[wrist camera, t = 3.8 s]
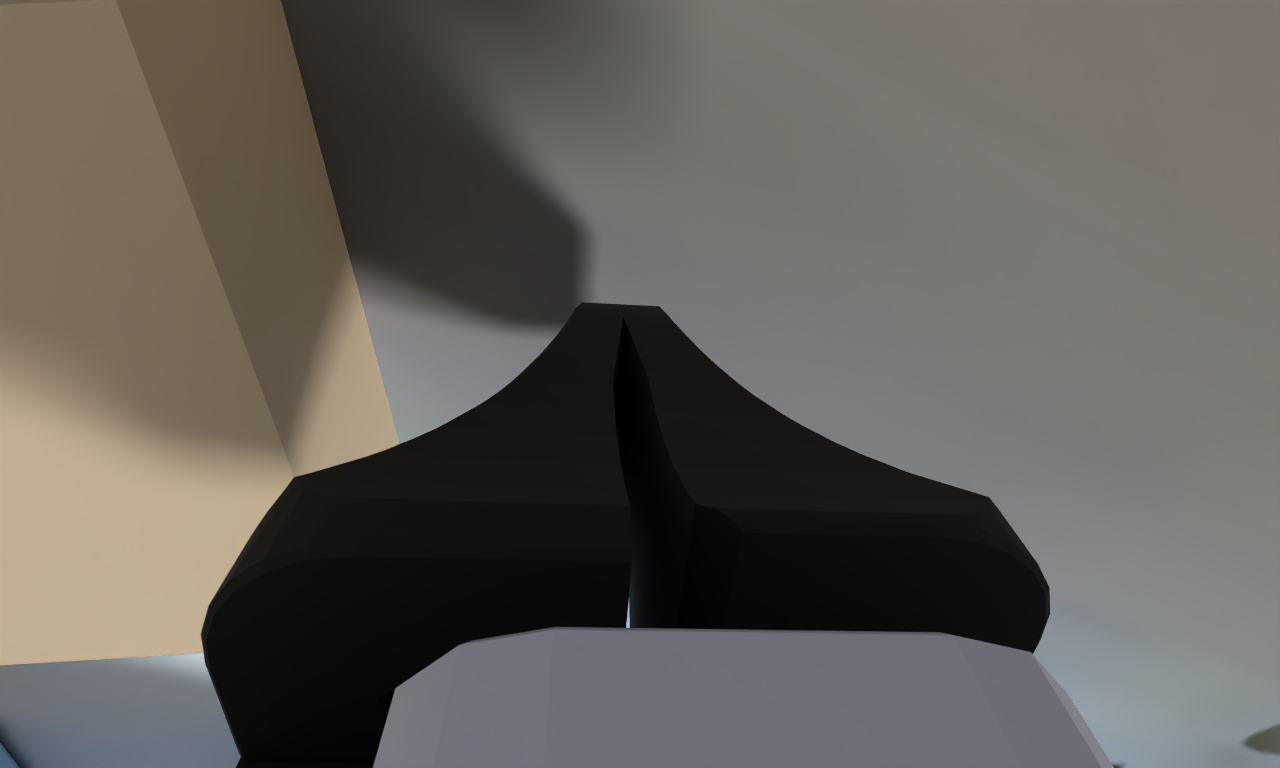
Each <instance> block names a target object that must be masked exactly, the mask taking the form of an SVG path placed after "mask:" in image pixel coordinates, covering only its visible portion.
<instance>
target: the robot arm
mask: <svg viewBox="0 0 1280 768" xmlns="http://www.w3.org/2000/svg"><path fill="white" fill-rule="evenodd" d="M628 600H629V605H630V628H626V621H627V610H628ZM1049 615H1050V594H1049V586H1048V584H1047V582H1046V580H1045V578H1044V576H1043V574H1042V572H1041V570H1040V568H1039V565H1038V564H1037V562H1036V561H1035V559H1034V558H1033V557H1032V555H1031V554H1030V552H1029V551H1028V550H1027V548H1026V547H1025V545H1024V544H1023V543H1022V541H1021V540H1020V539H1019V537H1018V536H1017V534H1016V533H1015V532H1014V530H1013V529H1012V527H1011V526H1010V525H1009V523H1008V522H1007V520H1006V519H1005V518H1004V516H1003V515H1002V514H1001V512H1000V511H999V509H998V508H997V507H996V506H995V504H994V503H993V502H992V500H991V499H990V498H989V497H987V496H983V495H980V494H977V493H973V492H970V491H967V490H964V489H960V488H957V487H954V486H951V485H947V484H944V483H941V482H937V481H934V480H931V479H928V478H924V477H921V476H918V475H914V474H911V473H908V472H906V471H903V470H900V469H898V468H895V467H892V466H890V465H887V464H885V463H882V462H880V461H877V460H875V459H872V458H870V457H867V456H864V455H862V454H860V453H857V452H855V451H853V450H851V449H848V448H846V447H844V446H842V445H840V444H837V443H835V442H833V441H831V440H829V439H827V438H825V437H823V436H822V435H820V434H818V433H816V432H814V431H812V430H810V429H808V428H806V427H804V426H802V425H800V424H799V423H797V422H795V421H793V420H792V419H790V418H788V417H786V416H785V415H783V414H782V413H780V412H778V411H777V410H775V409H774V408H772V407H771V406H769V405H768V404H766V403H765V402H763V401H762V400H760V399H759V398H757V397H756V396H754V395H753V394H752V393H750V392H749V391H748V390H746V389H745V388H743V387H742V386H741V385H740V384H738V383H737V382H736V381H735V380H734V379H732V378H731V377H730V376H729V375H728V374H726V373H725V372H724V371H723V370H722V369H720V368H719V367H718V366H717V365H716V364H715V363H714V362H713V361H711V360H710V359H709V358H708V357H707V356H706V355H705V354H704V353H703V352H702V351H701V350H700V349H699V348H698V347H697V346H696V345H695V344H694V343H693V342H692V341H691V340H690V339H689V338H688V337H687V336H686V335H685V334H684V333H683V332H682V331H681V329H680V328H679V327H678V326H677V325H676V324H675V323H674V322H673V321H672V320H671V318H670V317H669V316H668V315H667V314H666V313H665V312H664V311H663V310H662V309H661V308H660V307H659V306H641V305H621V304H601V303H581V304H580V305H579V306H578V307H577V308H575V310H574V312H573V314H572V315H571V317H570V318H569V320H568V321H567V323H566V324H565V326H564V327H563V328H562V329H561V331H560V332H559V333H558V335H557V336H556V337H555V338H554V339H553V340H552V342H551V343H550V344H549V345H548V346H547V347H546V349H545V350H544V351H543V352H542V353H541V354H540V355H539V356H538V357H537V358H536V359H535V360H534V361H533V362H532V363H531V364H530V365H529V366H528V367H527V368H526V369H525V370H524V371H523V372H522V373H521V374H520V375H518V376H517V377H516V378H515V379H514V380H513V381H512V382H510V383H509V384H508V385H507V386H506V387H504V388H503V389H502V390H501V391H499V392H498V393H496V394H495V395H493V396H492V397H491V398H489V399H488V400H486V401H485V402H483V403H482V404H480V405H478V406H476V407H475V408H473V409H471V410H469V411H467V412H466V413H464V414H462V415H460V416H458V417H457V418H455V419H453V420H451V421H449V422H448V423H446V424H444V425H442V426H440V427H438V428H436V429H434V430H432V431H430V432H427V433H425V434H423V435H421V436H418V437H416V438H414V439H412V440H409V441H407V442H404V443H401V444H399V445H396V446H394V447H391V448H389V449H386V450H383V451H381V452H378V453H375V454H372V455H369V456H366V457H363V458H359V459H356V460H353V461H349V462H346V463H342V464H339V465H336V466H332V467H329V468H326V469H322V470H319V471H315V472H312V473H308V474H304V475H300V476H296V477H294V478H293V479H292V480H291V482H290V483H289V484H288V486H287V487H286V489H285V490H284V491H283V492H282V494H281V495H280V496H279V497H278V499H277V500H276V501H275V502H274V504H273V505H272V506H271V508H270V509H269V510H268V511H267V513H266V514H265V516H264V517H263V519H262V520H261V521H260V523H259V524H258V526H257V527H256V529H255V530H254V532H253V533H252V535H251V536H250V538H249V540H248V541H247V543H246V545H245V546H244V548H243V550H242V551H241V553H240V554H239V556H238V558H237V559H236V561H235V563H234V564H233V566H232V568H231V569H230V571H229V573H228V574H227V576H226V578H225V579H224V581H223V582H222V584H221V586H220V587H219V589H218V591H217V592H216V594H215V596H214V597H213V599H212V601H211V602H210V604H209V606H208V609H207V613H206V617H205V620H204V624H203V627H202V631H201V640H202V646H203V652H204V658H205V664H206V667H207V669H208V672H209V675H210V677H211V680H212V683H213V685H214V688H215V691H216V693H217V696H218V698H219V701H220V704H221V706H222V709H223V712H224V714H225V717H226V720H227V722H228V725H229V728H230V730H231V733H232V736H233V738H234V741H235V744H236V746H237V749H238V752H239V753H238V759H239V762H238V764H237V767H236V768H1114V767H1113V765H1112V764H1111V762H1110V761H1109V759H1108V757H1107V756H1106V754H1105V753H1104V751H1103V750H1102V748H1101V746H1100V745H1099V743H1098V742H1097V740H1096V738H1095V737H1094V735H1093V734H1092V732H1091V731H1090V729H1089V727H1088V726H1087V724H1086V723H1085V721H1084V719H1083V718H1082V716H1081V715H1080V713H1079V711H1078V710H1077V708H1076V707H1075V705H1074V704H1073V702H1072V700H1071V699H1070V697H1069V696H1068V694H1067V693H1066V692H1065V690H1064V689H1063V688H1062V687H1061V686H1060V685H1059V684H1058V682H1057V681H1056V680H1055V679H1054V678H1053V677H1052V676H1051V675H1050V673H1049V672H1048V671H1047V670H1046V669H1045V668H1044V667H1043V666H1042V664H1041V663H1040V662H1039V661H1038V660H1037V659H1036V658H1035V656H1034V655H1033V653H1034V651H1035V649H1036V647H1037V645H1038V644H1039V642H1040V640H1041V637H1042V634H1043V631H1044V629H1045V626H1046V623H1047V620H1048V618H1049Z"/></svg>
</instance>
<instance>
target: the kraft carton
mask: <svg viewBox="0 0 1280 768" xmlns="http://www.w3.org/2000/svg"><path fill="white" fill-rule="evenodd" d="M396 445H399V441H398V438H397V434H396V430H395V426H394V423H393V419H392V415H391V411H390V408H389V404H388V400H387V396H386V393H385V389H384V385H383V381H382V378H381V374H380V370H379V366H378V363H377V359H376V355H375V351H374V348H373V344H372V340H371V336H370V333H369V329H368V325H367V321H366V318H365V314H364V310H363V306H362V303H361V299H360V295H359V291H358V288H357V284H356V280H355V276H354V273H353V269H352V265H351V261H350V258H349V254H348V250H347V246H346V243H345V239H344V235H343V231H342V228H341V224H340V220H339V217H338V213H337V209H336V205H335V202H334V198H333V194H332V190H331V187H330V183H329V179H328V175H327V172H326V168H325V164H324V160H323V157H322V153H321V149H320V145H319V142H318V138H317V134H316V130H315V127H314V123H313V119H312V115H311V112H310V108H309V104H308V100H307V97H306V93H305V89H304V85H303V82H302V78H301V74H300V70H299V67H298V63H297V59H296V55H295V52H294V48H293V44H292V40H291V37H290V33H289V29H288V25H287V22H286V18H285V14H284V10H283V7H282V3H281V0H0V665H15V664H32V663H49V662H65V661H82V660H99V659H116V658H132V657H149V656H166V655H183V654H199V653H204V652H203V646H202V640H201V631H202V627H203V624H204V620H205V617H206V613H207V609H208V606H209V604H210V602H211V601H212V599H213V597H214V596H215V594H216V592H217V591H218V589H219V587H220V586H221V584H222V582H223V581H224V579H225V578H226V576H227V574H228V573H229V571H230V569H231V568H232V566H233V564H234V563H235V561H236V559H237V558H238V556H239V554H240V553H241V551H242V550H243V548H244V546H245V545H246V543H247V541H248V540H249V538H250V536H251V535H252V533H253V532H254V530H255V529H256V527H257V526H258V524H259V523H260V521H261V520H262V519H263V517H264V516H265V514H266V513H267V511H268V510H269V509H270V508H271V506H272V505H273V504H274V502H275V501H276V500H277V499H278V497H279V496H280V495H281V494H282V492H283V491H284V490H285V489H286V487H287V486H288V484H289V483H290V482H291V480H292V479H293V478H294V477H296V476H300V475H304V474H308V473H312V472H315V471H319V470H322V469H326V468H329V467H332V466H336V465H339V464H342V463H346V462H349V461H353V460H356V459H359V458H363V457H366V456H369V455H372V454H375V453H378V452H381V451H383V450H386V449H389V448H391V447H394V446H396Z"/></svg>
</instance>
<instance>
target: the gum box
mask: <svg viewBox="0 0 1280 768" xmlns="http://www.w3.org/2000/svg"><path fill="white" fill-rule="evenodd" d="M0 768H19V766H18V765H17V764H16V762H15V761H14V760H13V759H12V757H11V756H10V755H9V753H8V752H7V751H6V750H5V748H4V747H3V746H2V744H1V743H0Z"/></svg>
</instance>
